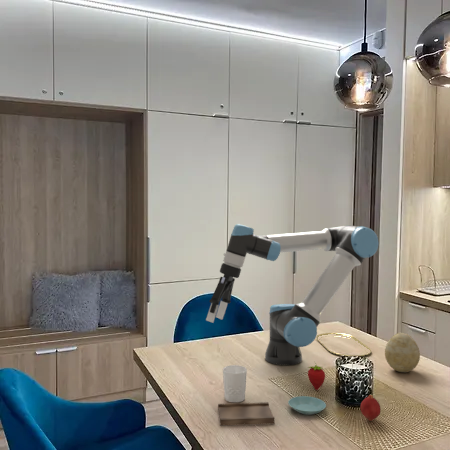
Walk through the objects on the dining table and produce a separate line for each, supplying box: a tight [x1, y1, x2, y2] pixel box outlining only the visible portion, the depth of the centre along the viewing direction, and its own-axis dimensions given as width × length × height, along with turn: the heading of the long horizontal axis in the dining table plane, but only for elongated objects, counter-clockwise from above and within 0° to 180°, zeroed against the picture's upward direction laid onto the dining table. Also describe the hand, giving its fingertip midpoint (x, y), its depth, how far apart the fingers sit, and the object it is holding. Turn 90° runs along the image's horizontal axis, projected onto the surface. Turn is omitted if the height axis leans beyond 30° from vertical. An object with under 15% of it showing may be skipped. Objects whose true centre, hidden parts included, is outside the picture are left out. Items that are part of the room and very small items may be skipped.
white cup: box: [222, 364, 248, 403], centre depth 160 cm, size 8×8×10 cm
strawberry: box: [307, 362, 326, 391], centre depth 167 cm, size 6×8×10 cm
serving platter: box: [315, 332, 372, 357], centre depth 219 cm, size 19×35×2 cm, turn 6°
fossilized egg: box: [384, 332, 421, 373], centre depth 186 cm, size 13×13×15 cm
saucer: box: [287, 395, 327, 415], centre depth 152 cm, size 12×12×2 cm
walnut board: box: [217, 401, 276, 426], centre depth 147 cm, size 16×11×2 cm
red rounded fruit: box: [359, 394, 381, 422], centre depth 144 cm, size 6×6×8 cm
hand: (214, 319), depth 178 cm, fingers open, 13 cm apart
